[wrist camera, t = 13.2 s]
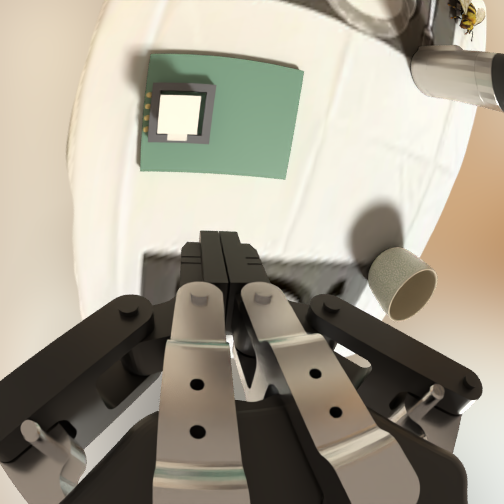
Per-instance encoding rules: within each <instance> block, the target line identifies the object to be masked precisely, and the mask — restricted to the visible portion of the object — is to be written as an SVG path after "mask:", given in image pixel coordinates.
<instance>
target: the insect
mask: <svg viewBox="0 0 504 504" xmlns="http://www.w3.org/2000/svg"><path fill="white" fill-rule="evenodd" d="M455 1H456V2H457V3H459V4H461V7H462V8H461V10H459V9H457V8H456V7H453V6H452V5H450V4H448V5H449V6H451V7H453V8H454V9H455V10H457V11H460V12H461V15H462V13H463V12H464V13H463V15H462V20H461V23H460V25H459V26H460V27H461V28H463V29H467V32H466V33H465V34H467V33H468V32H469V34H470V32H471V31H472V29H473V26H475V25H477V24H479V23H481V22H482V21H483V20H484V18H485V11H484V9H483V8H481V9H480V8H478V10H477V16H476V9H475V7H474V6H473V4H472V3H471V0H460V2H459V1H458V0H455ZM452 18H459V19H461V18H460V17H459V16H455V17H451V19H452ZM469 30H470V31H469ZM472 37H473V32H472ZM471 41H472V39H471Z"/></svg>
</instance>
